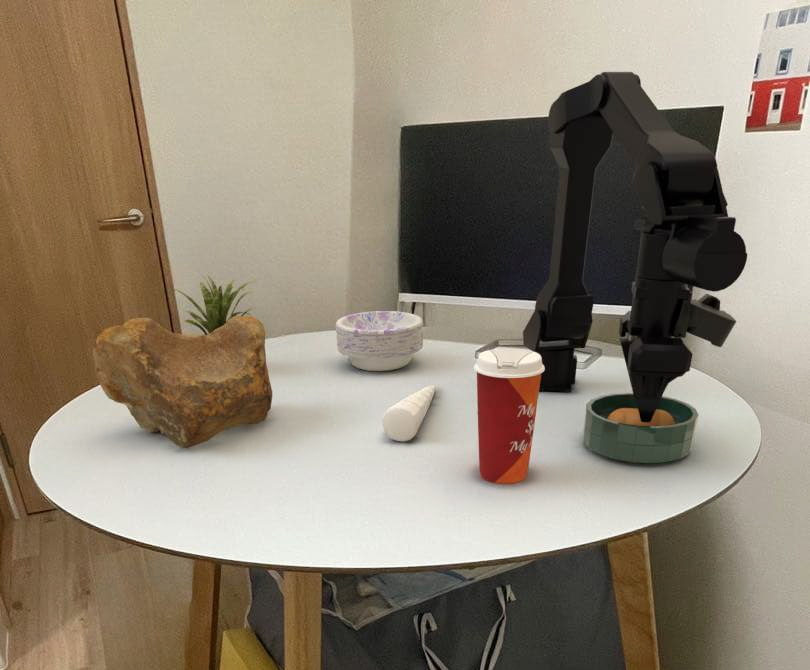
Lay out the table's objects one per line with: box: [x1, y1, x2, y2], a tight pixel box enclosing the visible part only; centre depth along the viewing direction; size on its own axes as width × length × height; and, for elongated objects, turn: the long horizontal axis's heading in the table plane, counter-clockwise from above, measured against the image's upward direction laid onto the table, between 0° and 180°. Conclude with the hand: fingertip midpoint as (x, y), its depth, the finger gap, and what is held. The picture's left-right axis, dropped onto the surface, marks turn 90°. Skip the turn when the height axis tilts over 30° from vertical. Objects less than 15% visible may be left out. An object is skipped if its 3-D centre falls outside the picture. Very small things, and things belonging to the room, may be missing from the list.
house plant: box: [173, 275, 258, 335], centre depth 119 cm, size 14×14×16 cm
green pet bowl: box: [582, 392, 699, 464], centre depth 88 cm, size 13×13×5 cm
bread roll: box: [607, 408, 675, 426], centre depth 88 cm, size 8×4×4 cm, turn 79°
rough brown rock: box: [92, 315, 273, 449], centre depth 94 cm, size 23×17×15 cm
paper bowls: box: [335, 310, 424, 372], centre depth 124 cm, size 15×15×8 cm
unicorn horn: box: [382, 384, 437, 443], centre depth 101 cm, size 5×24×5 cm, turn 163°
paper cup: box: [473, 347, 545, 485], centre depth 80 cm, size 8×8×14 cm
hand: (641, 409), depth 87 cm, fingers open, 9 cm apart
